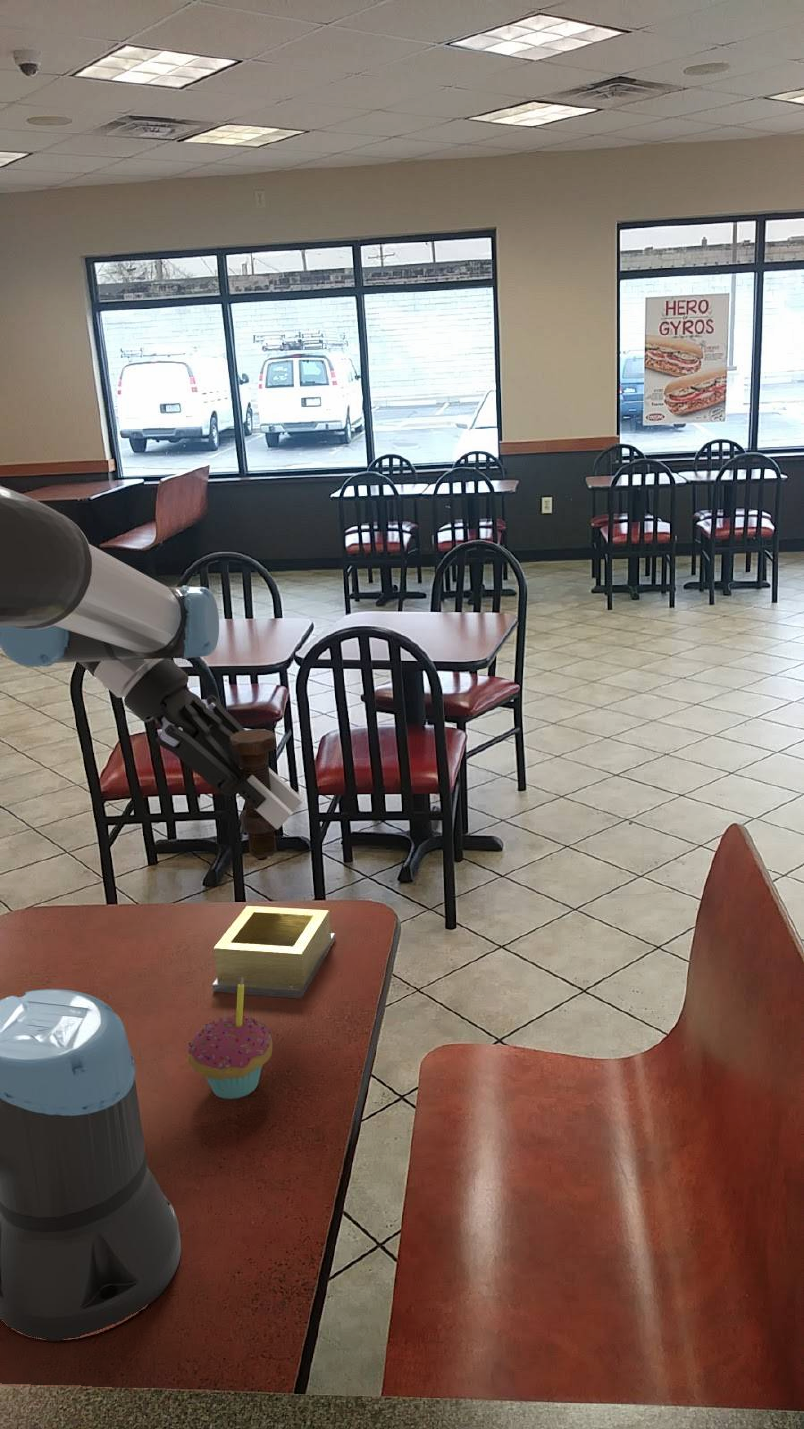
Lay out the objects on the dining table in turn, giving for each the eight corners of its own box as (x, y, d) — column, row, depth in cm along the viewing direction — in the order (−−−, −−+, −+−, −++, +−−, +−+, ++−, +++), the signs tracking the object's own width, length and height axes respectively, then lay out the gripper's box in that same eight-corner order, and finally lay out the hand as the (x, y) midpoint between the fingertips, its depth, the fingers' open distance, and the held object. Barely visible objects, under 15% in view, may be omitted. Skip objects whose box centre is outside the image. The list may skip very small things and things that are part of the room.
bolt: (238, 848, 134) (226, 731, 130) (279, 841, 136) (268, 725, 131) (246, 867, 129) (234, 745, 125) (289, 859, 130) (278, 739, 126)
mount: (300, 998, 129) (297, 960, 127) (213, 991, 132) (208, 954, 130) (335, 940, 142) (332, 905, 140) (254, 935, 145) (251, 900, 143)
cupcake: (261, 1052, 119) (250, 953, 115) (288, 1095, 112) (277, 990, 108) (183, 1077, 116) (169, 975, 112) (205, 1122, 108) (191, 1015, 105)
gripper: (156, 680, 138) (293, 808, 139) (92, 720, 123) (247, 863, 124) (190, 639, 135) (330, 770, 136) (129, 674, 120) (287, 821, 121)
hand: (290, 814), depth 130 cm, fingers closed on bolt, 3 cm apart
